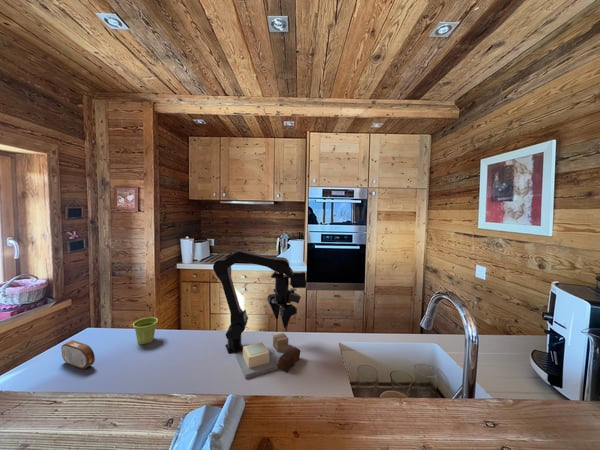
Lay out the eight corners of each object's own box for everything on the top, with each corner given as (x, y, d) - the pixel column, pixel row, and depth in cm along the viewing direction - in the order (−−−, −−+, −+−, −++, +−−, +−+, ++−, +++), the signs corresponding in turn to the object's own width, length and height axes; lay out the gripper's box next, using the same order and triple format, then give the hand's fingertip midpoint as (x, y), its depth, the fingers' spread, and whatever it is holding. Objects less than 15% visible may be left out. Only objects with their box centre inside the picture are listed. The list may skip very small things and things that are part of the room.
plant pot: (162, 337, 114) (162, 318, 113) (145, 348, 104) (145, 328, 104) (145, 334, 116) (145, 316, 115) (127, 345, 107) (127, 325, 106)
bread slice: (96, 367, 91) (95, 345, 91) (86, 372, 88) (85, 349, 88) (69, 358, 96) (69, 337, 96) (59, 363, 93) (59, 341, 93)
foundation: (235, 357, 100) (236, 343, 99) (264, 350, 105) (264, 337, 105) (245, 378, 87) (245, 363, 87) (276, 369, 93) (277, 354, 93)
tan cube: (272, 346, 109) (273, 335, 108) (283, 343, 111) (283, 332, 111) (277, 352, 104) (277, 340, 104) (288, 349, 107) (288, 338, 106)
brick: (287, 373, 91) (287, 361, 91) (277, 369, 93) (278, 357, 93) (300, 358, 101) (300, 347, 100) (291, 355, 102) (292, 344, 102)
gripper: (308, 292, 102) (307, 329, 102) (289, 279, 118) (288, 311, 119) (284, 295, 96) (282, 334, 97) (267, 282, 113) (266, 315, 114)
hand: (280, 323), depth 107 cm, fingers open, 9 cm apart
